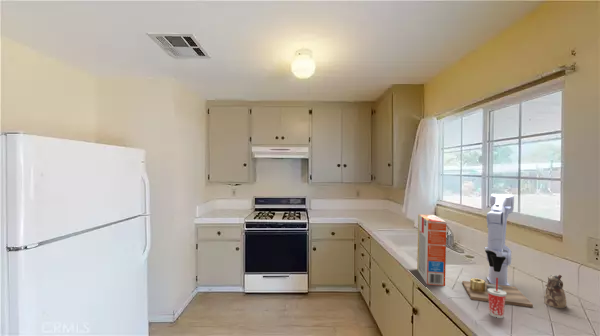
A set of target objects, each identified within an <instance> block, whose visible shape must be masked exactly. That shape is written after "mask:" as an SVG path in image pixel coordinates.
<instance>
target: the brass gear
mask: <svg viewBox="0 0 600 336" xmlns="http://www.w3.org/2000/svg"><path fill="white" fill-rule="evenodd" d="M469 282H470V289H472V290H474V291H478V292H485V283H486V281H485V280H484V279H482V278H476V277H475V278H470V279H469Z"/></svg>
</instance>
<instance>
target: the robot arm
mask: <svg viewBox="0 0 600 336" xmlns="http://www.w3.org/2000/svg"><path fill="white" fill-rule="evenodd" d="M514 205H515V196H514V194H502V193H501V194H499V193H498V194H497V193H491V194H490V211H488V212H487V213H486V223H487V224H486V227H487V246H485V247H484V252H485V254H486V261H487V262H488V264H489V266H488V276H487V277H485V278H486V279H487V281H488V282H489V284H495V285H496V278H498V285H504V286H511V284H510V283H509V282H508V278H509V277H508V272H509V271H508V270H509V269H508V268H509V266H510V265H512V249H511V248H510V247H508V246H507V245H506V238H507V237H506V236H507V223H508V222H507V221H508V217H509V214H512V213H514V207H515V206H514Z"/></svg>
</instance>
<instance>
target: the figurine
mask: <svg viewBox="0 0 600 336" xmlns="http://www.w3.org/2000/svg"><path fill="white" fill-rule="evenodd" d="M562 278H563V276H562V275H561V274H559V275H556V274H552V275H551V274H550V276H547V283H546V284H545V287H546V288H545V292H544V293H545V294H544V296H543V302H544V304H545V305H547V306H550V307H553V308H557V309H564V308H566V307H567V297H566V293H565V290H564V289H563V288H564V282H563V280H561V279H562Z"/></svg>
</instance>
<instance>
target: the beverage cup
mask: <svg viewBox="0 0 600 336" xmlns="http://www.w3.org/2000/svg"><path fill="white" fill-rule="evenodd" d="M487 291H488V297H489V302H488V313H489V316H492V317H493V318H496V317H497V319H503V318H504V316H505V305H506V304H505V296H506V292H505V291H503V290H500V289H498V278H496V289H495V288H489V289H488V290H487Z"/></svg>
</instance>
